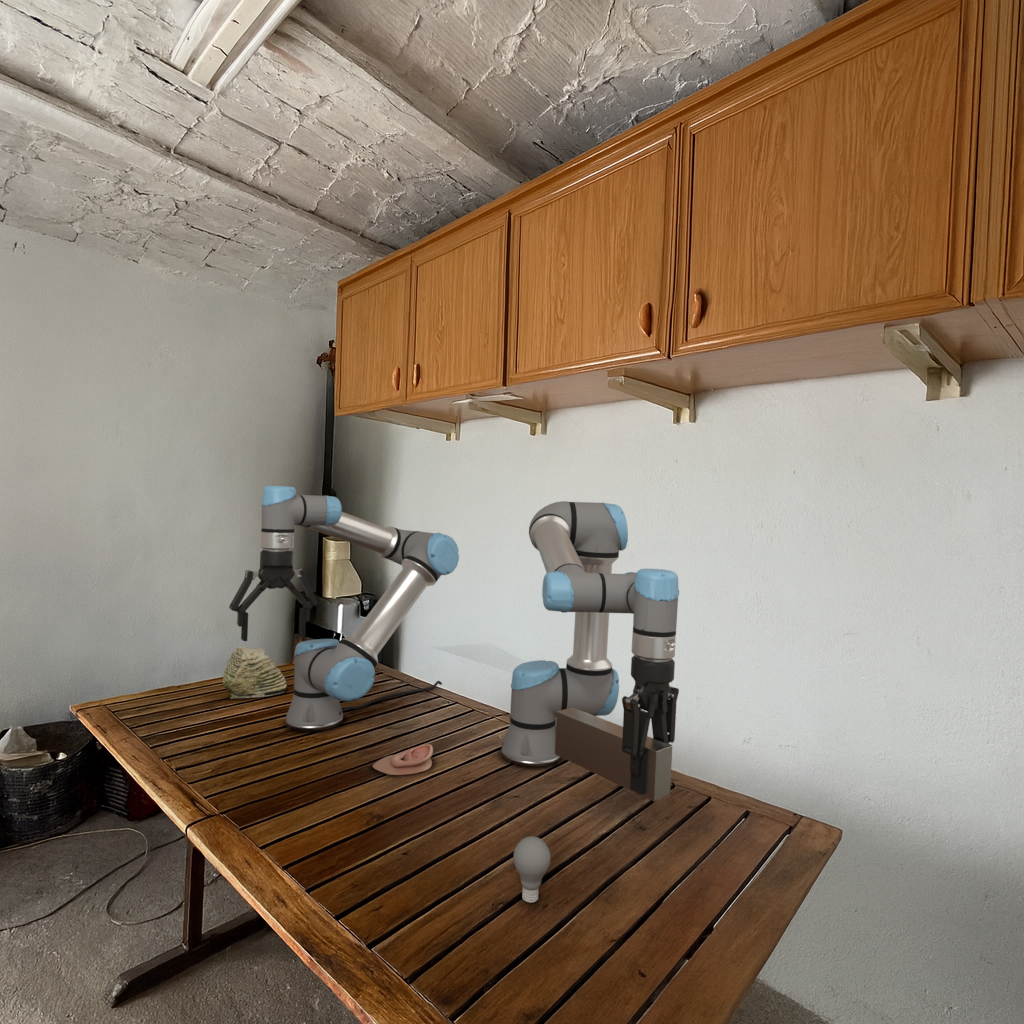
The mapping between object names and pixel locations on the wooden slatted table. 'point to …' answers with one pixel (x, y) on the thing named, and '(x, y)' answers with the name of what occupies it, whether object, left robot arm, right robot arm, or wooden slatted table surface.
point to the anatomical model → (406, 761)
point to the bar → (610, 751)
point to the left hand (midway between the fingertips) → (273, 637)
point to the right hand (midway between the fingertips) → (646, 787)
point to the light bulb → (531, 865)
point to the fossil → (252, 674)
